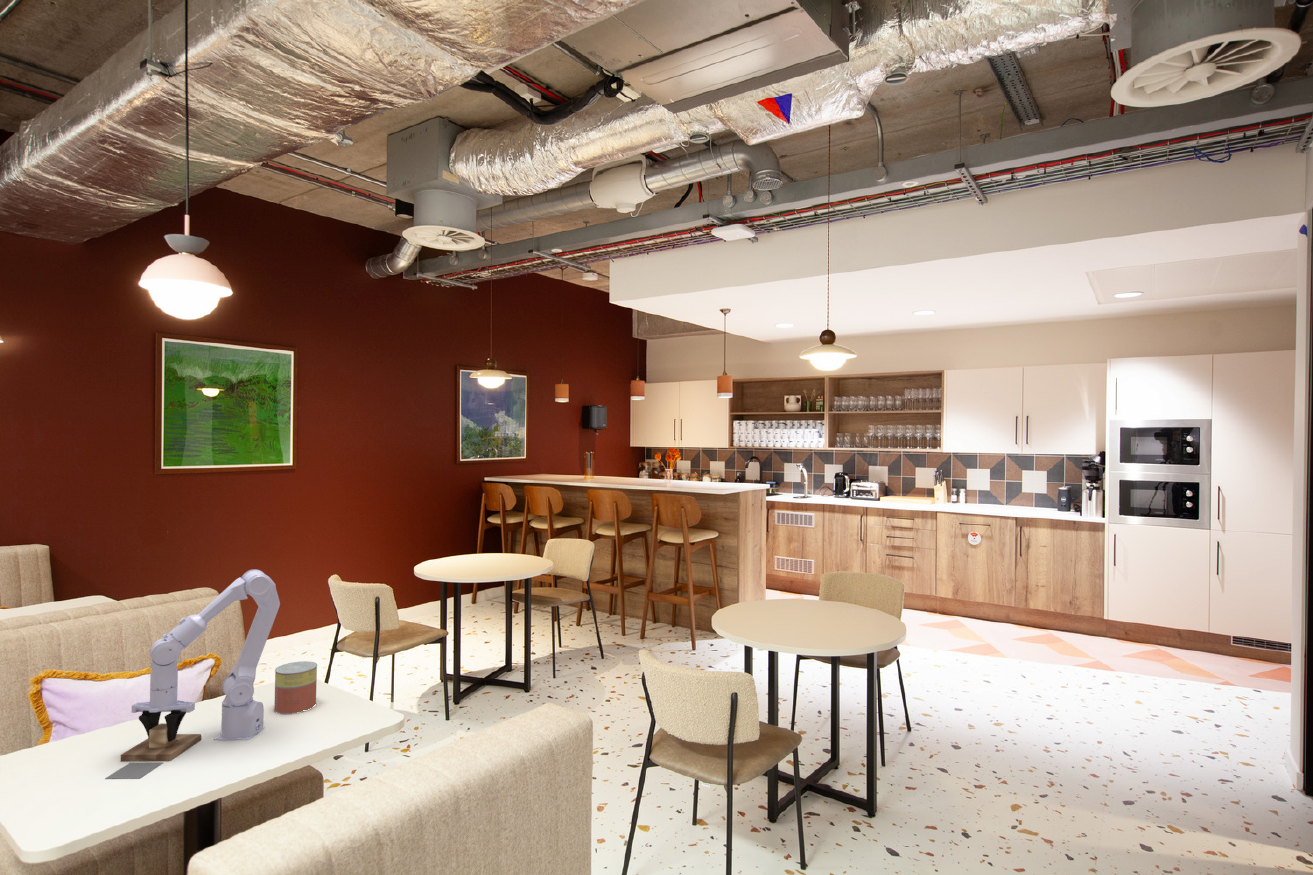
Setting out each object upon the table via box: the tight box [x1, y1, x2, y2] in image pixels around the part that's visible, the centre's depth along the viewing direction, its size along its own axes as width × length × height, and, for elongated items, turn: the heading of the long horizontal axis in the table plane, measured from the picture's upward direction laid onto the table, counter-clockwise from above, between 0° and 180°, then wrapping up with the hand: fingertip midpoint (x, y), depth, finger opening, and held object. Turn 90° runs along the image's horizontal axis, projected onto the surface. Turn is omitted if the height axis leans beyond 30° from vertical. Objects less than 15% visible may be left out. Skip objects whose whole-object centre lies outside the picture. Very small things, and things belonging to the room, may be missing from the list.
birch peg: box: [149, 722, 176, 748], centre depth 172 cm, size 4×4×6 cm
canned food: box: [273, 660, 318, 715], centre depth 203 cm, size 11×11×12 cm
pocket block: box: [120, 733, 202, 762], centre depth 172 cm, size 12×12×2 cm
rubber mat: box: [104, 761, 165, 780], centre depth 161 cm, size 8×8×1 cm
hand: (162, 739), depth 172 cm, fingers closed on birch peg, 4 cm apart
